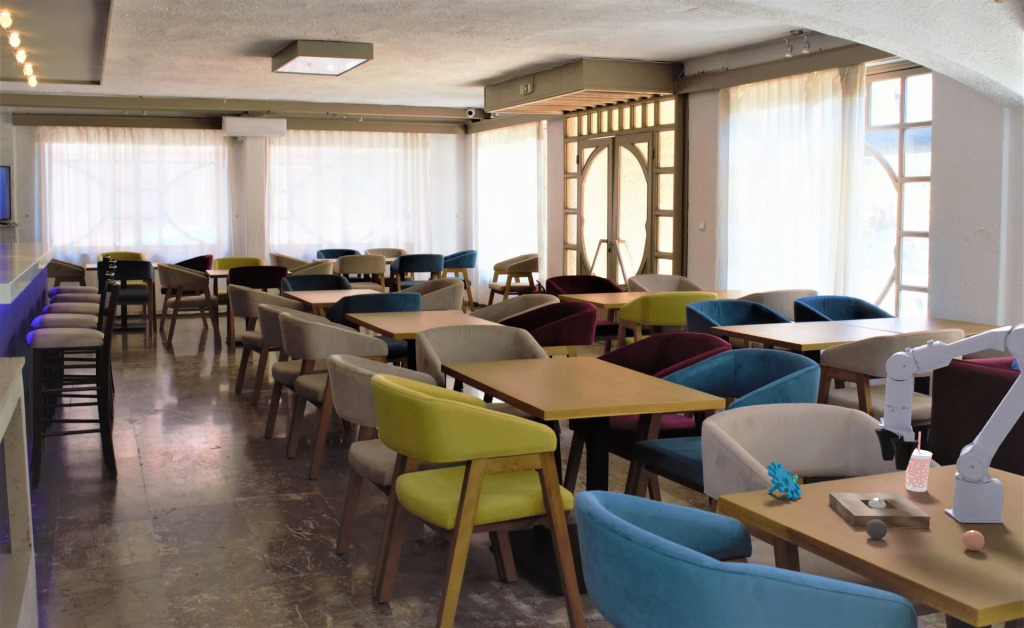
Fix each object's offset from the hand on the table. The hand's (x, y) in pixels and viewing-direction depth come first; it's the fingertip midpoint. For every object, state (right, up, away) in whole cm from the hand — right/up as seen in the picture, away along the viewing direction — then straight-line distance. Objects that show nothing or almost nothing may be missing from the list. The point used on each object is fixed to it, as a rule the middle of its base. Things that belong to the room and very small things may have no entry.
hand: (894, 465), depth 222 cm
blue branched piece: (-23, -9, +8) cm, 25 cm away
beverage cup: (+11, -8, +14) cm, 20 cm away
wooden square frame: (-6, -10, -6) cm, 13 cm away
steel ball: (-6, -8, -7) cm, 12 cm away
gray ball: (-12, -10, -21) cm, 26 cm away
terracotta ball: (+5, -11, -27) cm, 29 cm away
